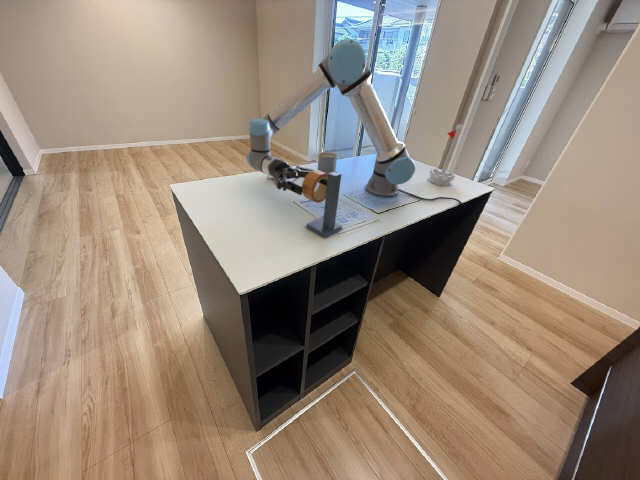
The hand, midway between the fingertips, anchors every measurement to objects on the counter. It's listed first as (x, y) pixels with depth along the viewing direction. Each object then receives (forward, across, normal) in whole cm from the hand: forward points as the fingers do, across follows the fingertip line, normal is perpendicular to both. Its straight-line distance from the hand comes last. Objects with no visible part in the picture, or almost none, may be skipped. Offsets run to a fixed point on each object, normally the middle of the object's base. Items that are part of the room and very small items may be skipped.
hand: (315, 186), depth 85 cm
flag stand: (+14, -88, -15) cm, 90 cm away
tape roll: (0, 0, 0) cm, 1 cm away
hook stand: (+3, 0, -14) cm, 15 cm away
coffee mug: (-33, -46, -14) cm, 59 cm away
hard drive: (-41, -19, -14) cm, 47 cm away
